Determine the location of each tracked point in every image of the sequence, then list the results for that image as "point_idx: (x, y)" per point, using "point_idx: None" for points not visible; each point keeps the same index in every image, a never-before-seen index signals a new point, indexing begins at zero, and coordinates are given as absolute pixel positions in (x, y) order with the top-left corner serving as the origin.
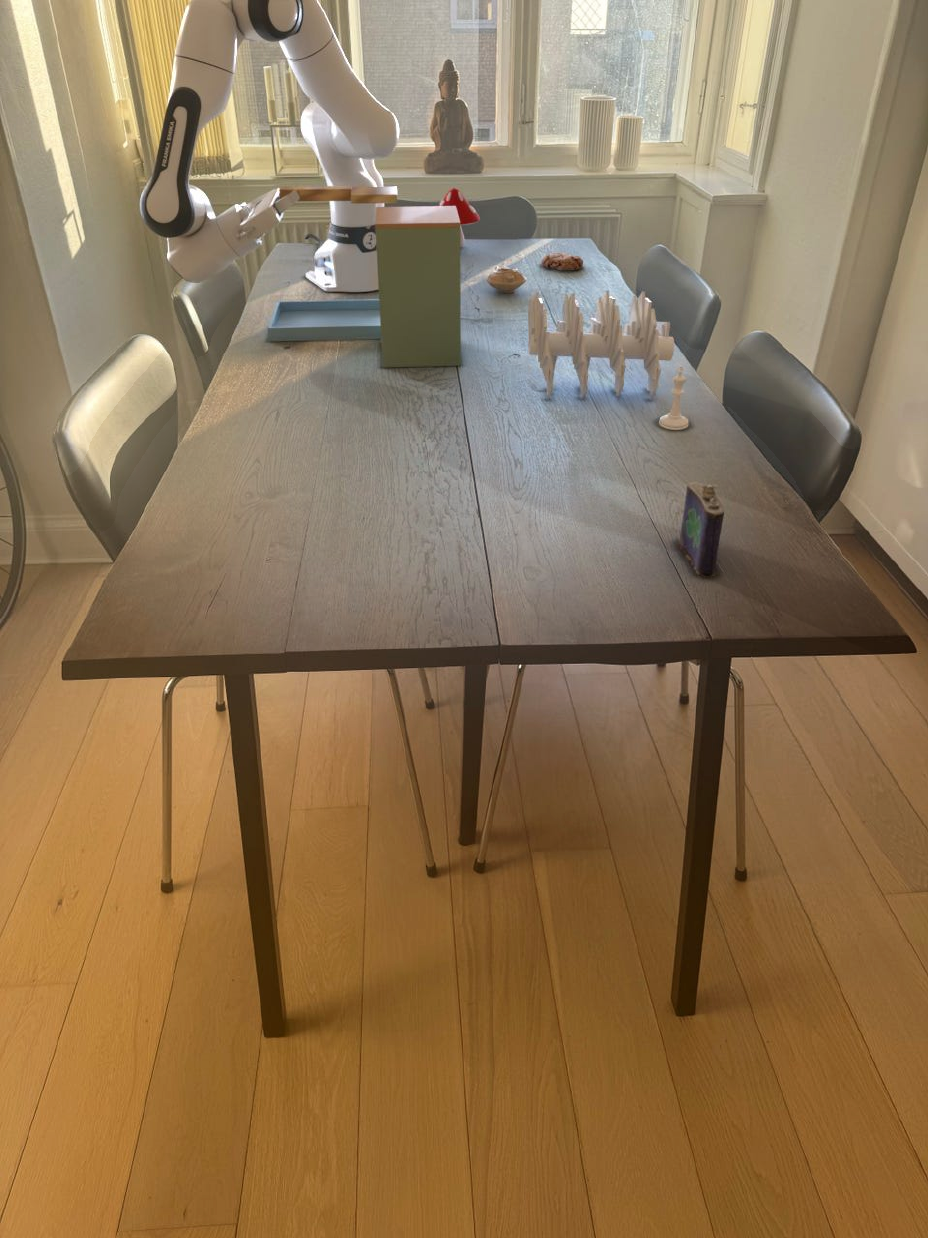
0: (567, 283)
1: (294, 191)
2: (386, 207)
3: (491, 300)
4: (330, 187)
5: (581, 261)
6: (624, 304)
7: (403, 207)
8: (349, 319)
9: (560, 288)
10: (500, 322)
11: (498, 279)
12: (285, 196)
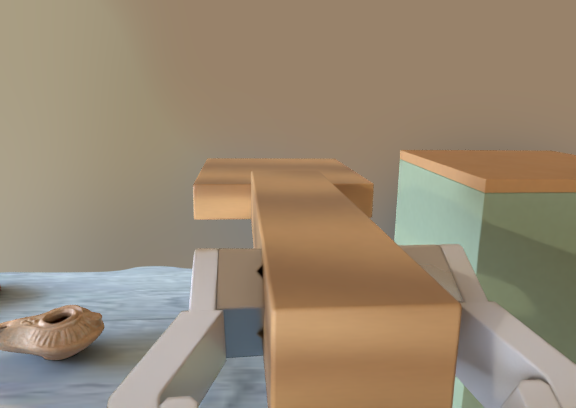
0: (62, 300)
1: (461, 249)
2: (479, 174)
3: (115, 369)
4: (293, 188)
5: None
6: (188, 273)
7: (459, 166)
8: None
9: (85, 306)
10: (258, 361)
11: (85, 332)
12: (511, 320)
